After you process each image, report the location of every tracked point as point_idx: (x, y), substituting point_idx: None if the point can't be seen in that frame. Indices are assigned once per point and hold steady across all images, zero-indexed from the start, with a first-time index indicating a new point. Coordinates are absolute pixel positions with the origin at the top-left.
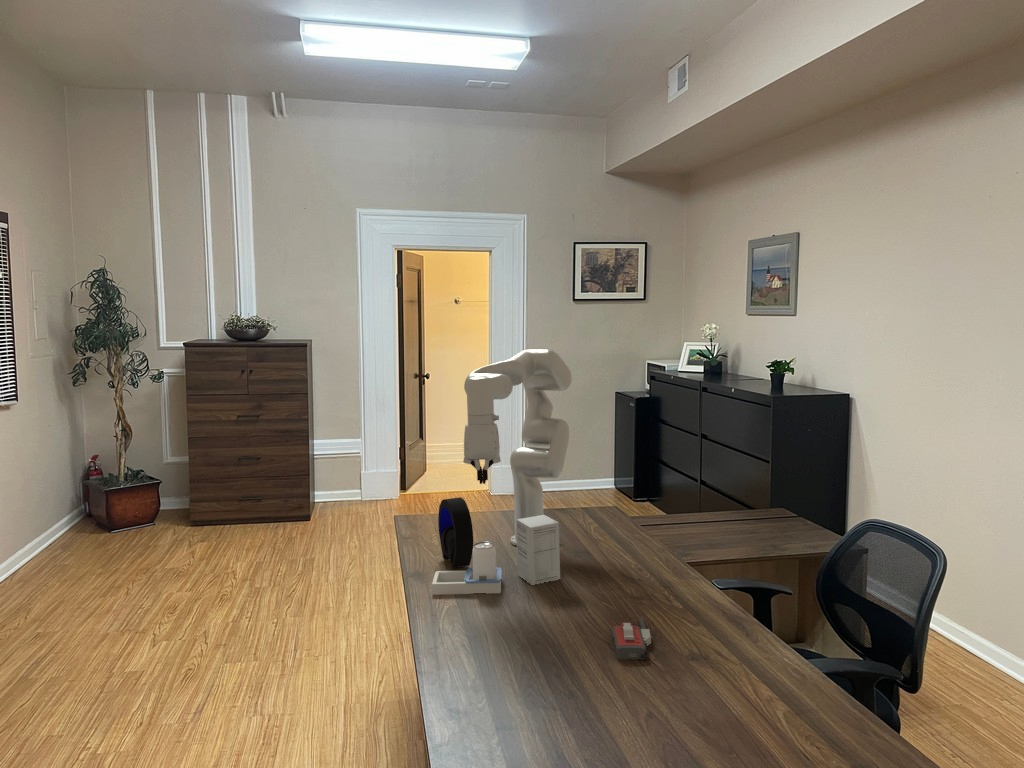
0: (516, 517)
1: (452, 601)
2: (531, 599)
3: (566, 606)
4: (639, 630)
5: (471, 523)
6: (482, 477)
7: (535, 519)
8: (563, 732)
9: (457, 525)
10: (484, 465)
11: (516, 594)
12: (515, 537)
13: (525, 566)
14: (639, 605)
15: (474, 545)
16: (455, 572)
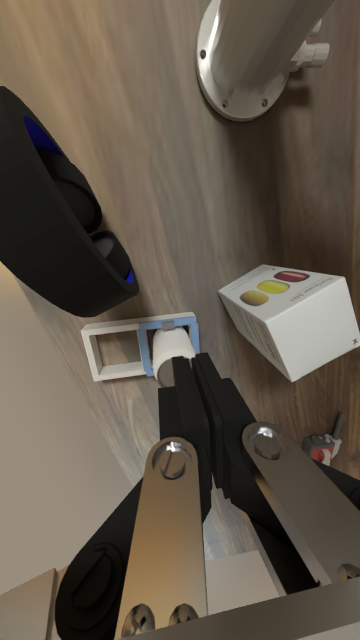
0: (238, 13)
1: (133, 388)
2: (235, 372)
3: (274, 385)
4: (332, 450)
5: (130, 292)
6: (192, 375)
7: (314, 326)
8: (247, 537)
9: (92, 313)
10: (260, 551)
11: (216, 359)
12: (212, 62)
13: (238, 324)
14: (351, 375)
15: (157, 376)
16: (118, 331)
